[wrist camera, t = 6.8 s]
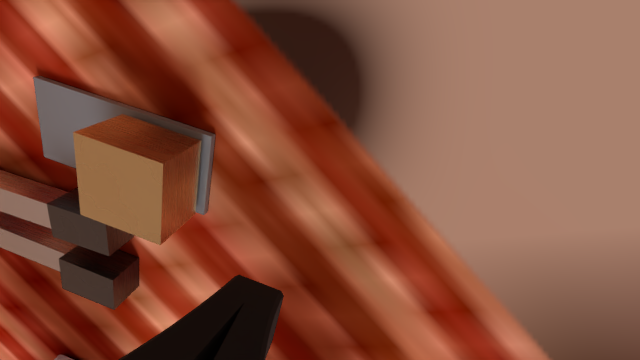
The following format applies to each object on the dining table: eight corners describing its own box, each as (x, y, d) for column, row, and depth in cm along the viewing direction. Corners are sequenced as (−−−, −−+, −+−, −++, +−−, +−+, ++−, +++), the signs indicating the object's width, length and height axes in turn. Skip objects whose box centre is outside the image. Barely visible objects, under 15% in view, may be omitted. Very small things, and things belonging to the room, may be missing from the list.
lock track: (207, 211, 17) (203, 214, 17) (49, 154, 18) (44, 156, 18) (215, 134, 15) (211, 136, 15) (39, 75, 16) (33, 76, 16)
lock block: (195, 213, 16) (160, 245, 14) (124, 187, 17) (80, 214, 15) (201, 140, 15) (163, 163, 12) (122, 114, 15) (73, 132, 13)
